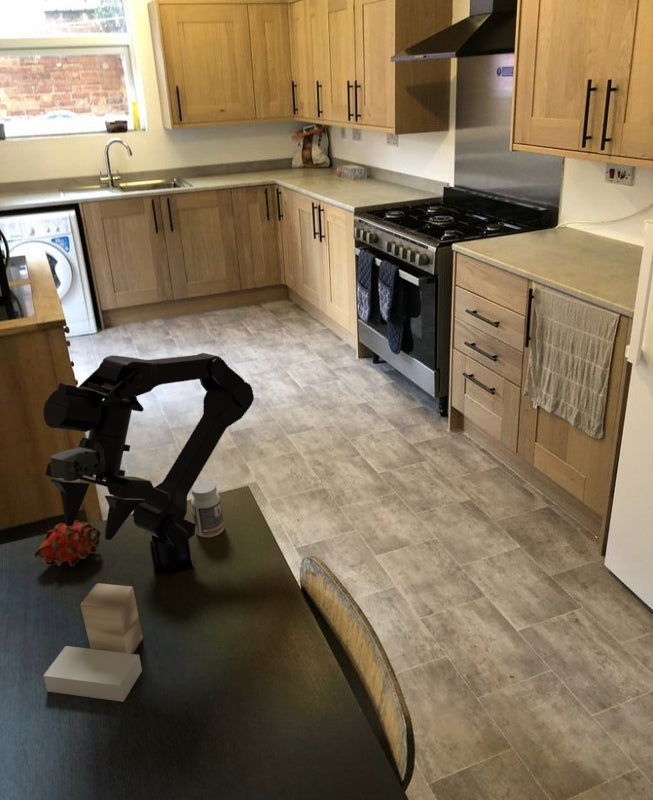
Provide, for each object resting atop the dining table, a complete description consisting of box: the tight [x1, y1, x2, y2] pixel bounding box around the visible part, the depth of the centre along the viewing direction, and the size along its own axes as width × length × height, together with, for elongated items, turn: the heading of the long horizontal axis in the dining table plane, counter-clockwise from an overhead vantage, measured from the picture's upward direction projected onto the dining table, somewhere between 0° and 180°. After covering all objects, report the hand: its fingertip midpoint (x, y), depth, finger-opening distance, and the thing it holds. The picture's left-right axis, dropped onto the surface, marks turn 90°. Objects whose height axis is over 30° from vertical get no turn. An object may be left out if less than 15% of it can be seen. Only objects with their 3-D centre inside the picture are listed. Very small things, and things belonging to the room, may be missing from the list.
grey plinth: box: [42, 645, 143, 703], centre depth 102 cm, size 6×12×3 cm, turn 78°
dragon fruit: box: [34, 519, 102, 567], centre depth 130 cm, size 8×8×12 cm
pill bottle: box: [190, 480, 225, 538], centre depth 136 cm, size 6×6×10 cm
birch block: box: [80, 582, 144, 654], centre depth 107 cm, size 5×6×10 cm
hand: (88, 532), depth 110 cm, fingers open, 9 cm apart
